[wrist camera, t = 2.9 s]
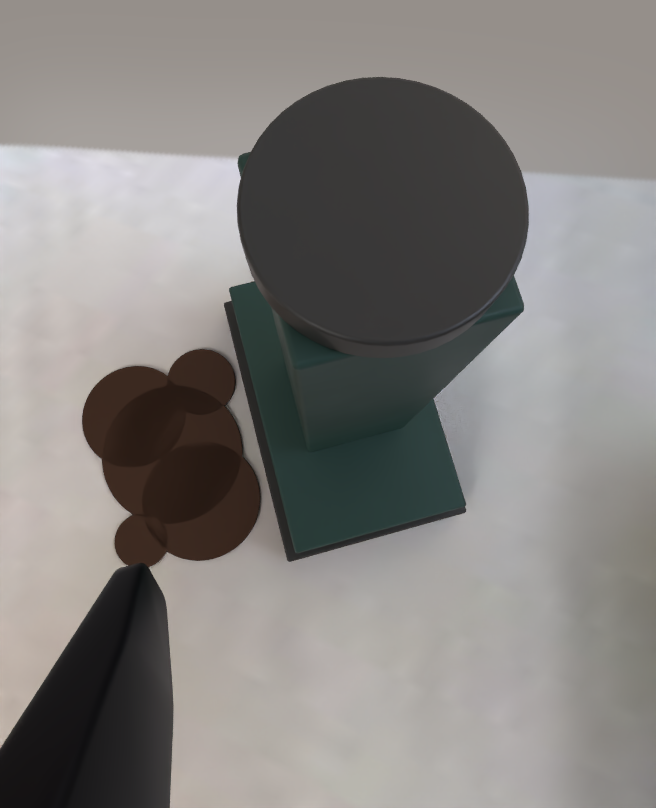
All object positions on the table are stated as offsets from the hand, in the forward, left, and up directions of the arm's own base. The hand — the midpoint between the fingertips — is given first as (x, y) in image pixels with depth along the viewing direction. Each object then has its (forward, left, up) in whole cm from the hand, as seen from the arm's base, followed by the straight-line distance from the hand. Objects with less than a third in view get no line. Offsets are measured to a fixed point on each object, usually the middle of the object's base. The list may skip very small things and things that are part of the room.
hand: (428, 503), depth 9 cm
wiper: (+2, +3, -10) cm, 11 cm away
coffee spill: (-2, +7, -10) cm, 12 cm away
